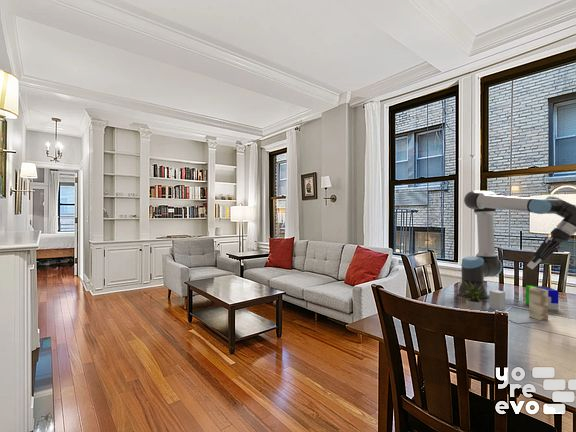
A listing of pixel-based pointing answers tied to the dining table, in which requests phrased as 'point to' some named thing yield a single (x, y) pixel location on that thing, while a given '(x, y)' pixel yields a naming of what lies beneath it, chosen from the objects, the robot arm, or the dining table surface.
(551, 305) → the puzzle toy
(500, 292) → the grey block
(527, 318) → the felt mat
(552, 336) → the dining table surface
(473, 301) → the house plant
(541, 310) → the maple block
